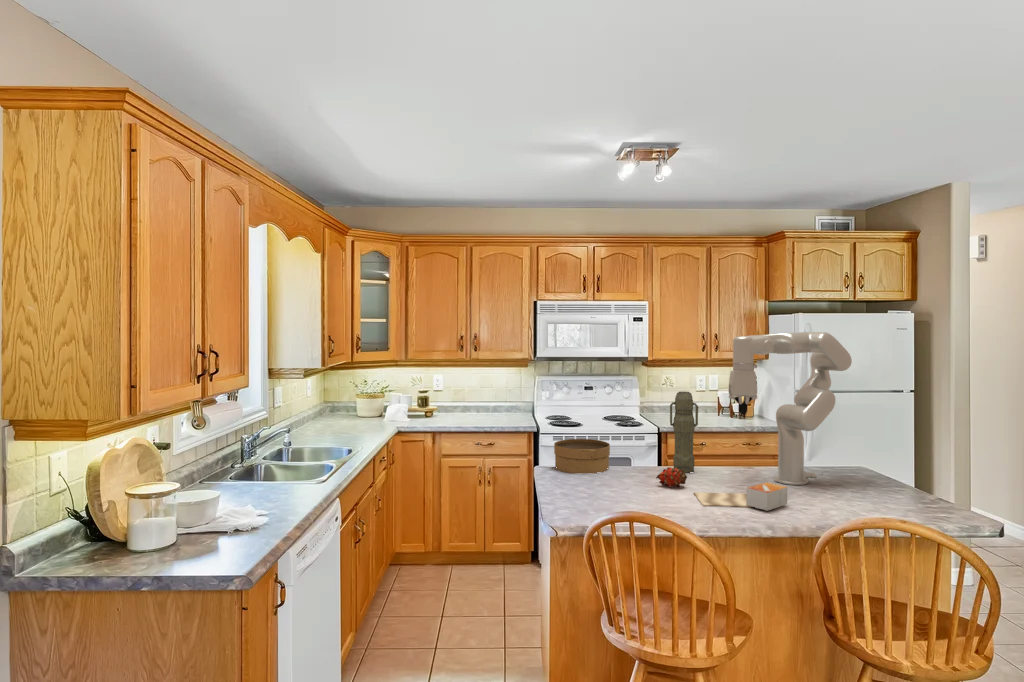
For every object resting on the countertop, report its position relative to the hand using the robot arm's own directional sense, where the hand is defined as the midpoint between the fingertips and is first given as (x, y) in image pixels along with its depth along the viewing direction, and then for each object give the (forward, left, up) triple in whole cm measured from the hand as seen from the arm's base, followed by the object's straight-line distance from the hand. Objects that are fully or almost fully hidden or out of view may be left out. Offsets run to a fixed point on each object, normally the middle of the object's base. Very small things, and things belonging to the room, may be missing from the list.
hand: (742, 413), depth 238 cm
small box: (-6, +22, -25) cm, 34 cm away
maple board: (+10, +20, -29) cm, 37 cm away
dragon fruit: (+28, +2, -29) cm, 41 cm away
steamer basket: (+63, -29, -30) cm, 75 cm away
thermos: (+18, -25, -29) cm, 43 cm away
